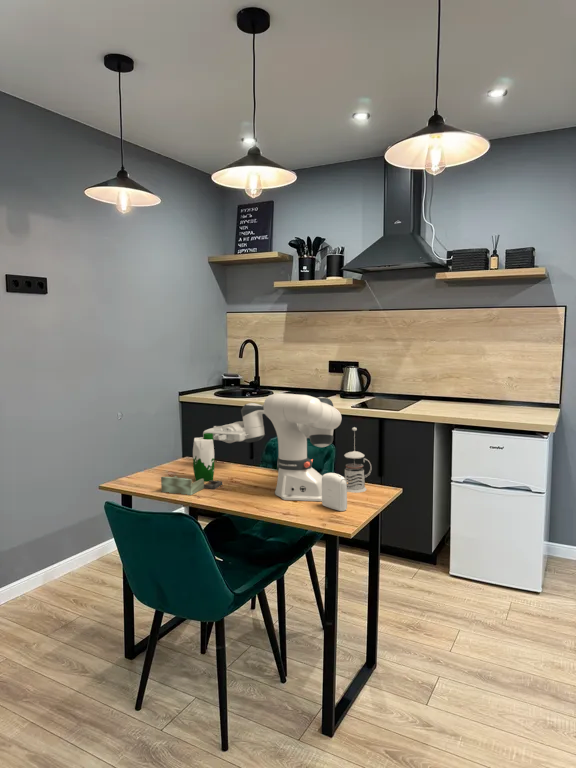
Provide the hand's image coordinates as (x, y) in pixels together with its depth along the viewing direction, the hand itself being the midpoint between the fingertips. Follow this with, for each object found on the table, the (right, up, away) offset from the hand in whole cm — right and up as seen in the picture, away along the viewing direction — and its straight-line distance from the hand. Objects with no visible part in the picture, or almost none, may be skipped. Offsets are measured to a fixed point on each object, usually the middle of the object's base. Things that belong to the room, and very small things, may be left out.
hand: (216, 438), depth 239 cm
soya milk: (-4, -17, -11) cm, 21 cm away
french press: (+60, -18, -27) cm, 68 cm away
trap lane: (-9, -18, -23) cm, 31 cm away
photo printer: (+49, -20, -51) cm, 73 cm away
